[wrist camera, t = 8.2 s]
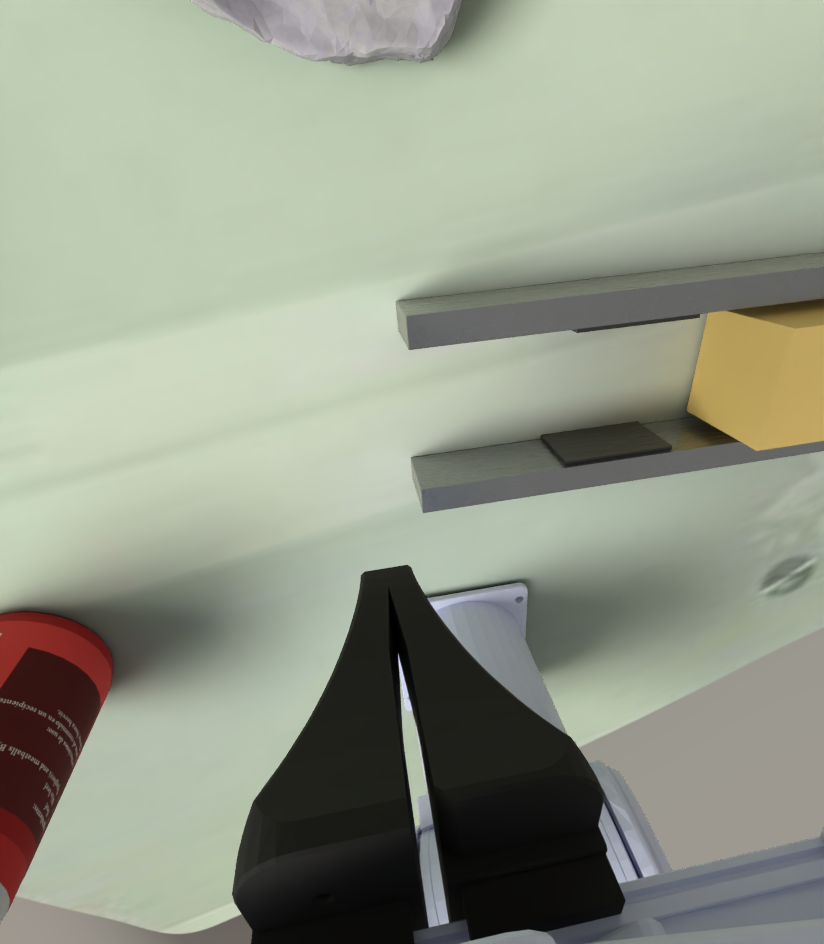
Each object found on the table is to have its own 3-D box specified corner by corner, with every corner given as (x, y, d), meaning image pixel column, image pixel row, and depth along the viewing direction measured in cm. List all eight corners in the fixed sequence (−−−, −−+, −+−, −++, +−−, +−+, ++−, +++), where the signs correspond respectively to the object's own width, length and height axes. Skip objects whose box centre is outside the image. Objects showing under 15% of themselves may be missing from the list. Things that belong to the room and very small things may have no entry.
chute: (873, 410, 26) (934, 433, 23) (412, 479, 23) (423, 513, 21) (947, 238, 21) (1032, 242, 19) (395, 301, 19) (406, 316, 17)
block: (796, 395, 24) (886, 430, 20) (686, 410, 24) (757, 451, 20) (831, 291, 22) (941, 309, 18) (709, 306, 21) (794, 328, 17)
